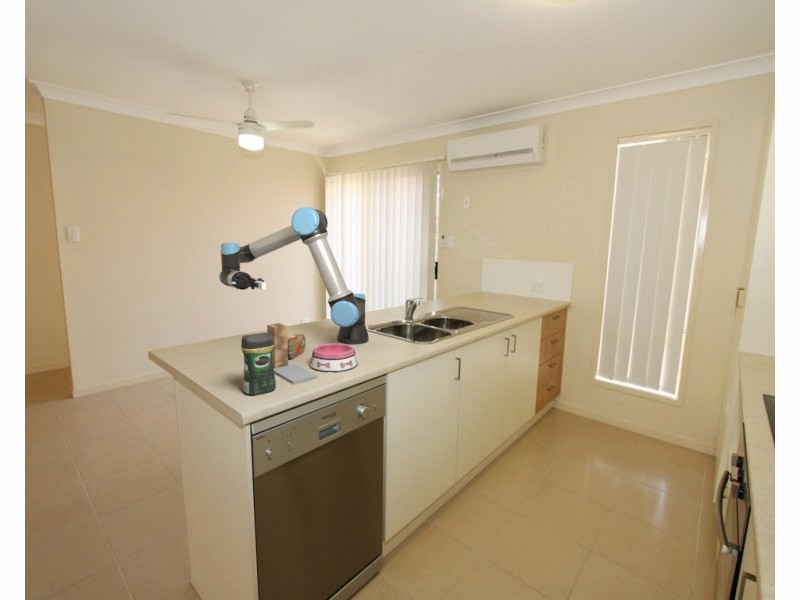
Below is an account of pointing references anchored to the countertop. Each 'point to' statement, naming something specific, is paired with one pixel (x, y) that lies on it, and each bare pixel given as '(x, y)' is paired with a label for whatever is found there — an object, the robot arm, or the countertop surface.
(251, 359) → the coffee jar
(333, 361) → the dog bowl
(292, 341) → the tin
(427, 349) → the countertop surface
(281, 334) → the walnut block
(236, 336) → the countertop surface
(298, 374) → the mat
